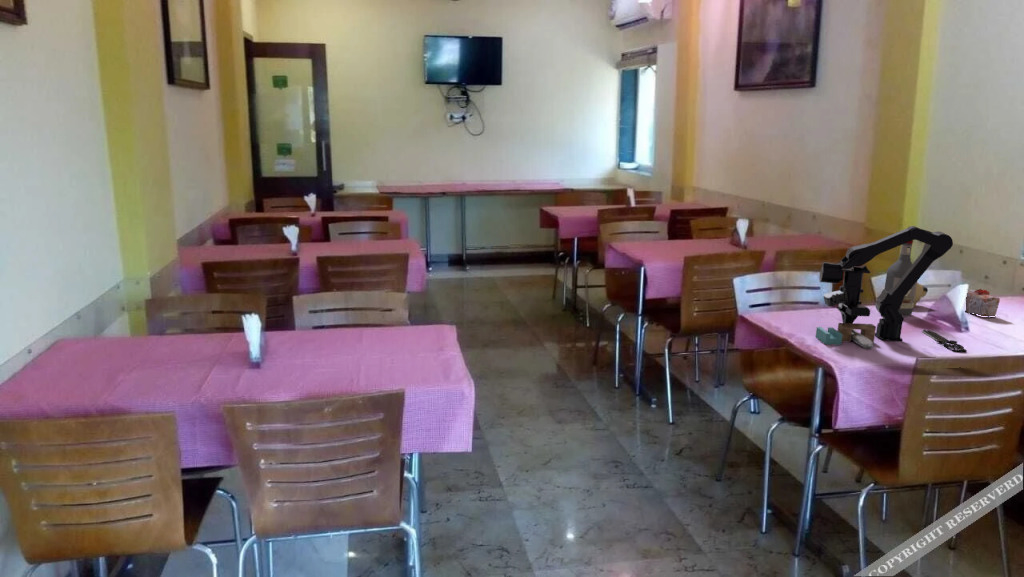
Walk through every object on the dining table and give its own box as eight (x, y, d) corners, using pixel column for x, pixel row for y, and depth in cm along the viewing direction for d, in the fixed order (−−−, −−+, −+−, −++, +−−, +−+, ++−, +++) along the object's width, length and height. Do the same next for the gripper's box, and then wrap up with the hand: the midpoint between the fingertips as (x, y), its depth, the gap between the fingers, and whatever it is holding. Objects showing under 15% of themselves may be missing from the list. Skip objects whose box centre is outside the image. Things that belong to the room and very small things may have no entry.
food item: (1000, 319, 288) (1004, 293, 286) (981, 319, 287) (986, 293, 284) (972, 309, 301) (977, 285, 299) (955, 309, 300) (959, 285, 297)
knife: (918, 331, 269) (919, 327, 269) (938, 332, 268) (939, 328, 268) (947, 352, 245) (947, 348, 244) (968, 354, 244) (969, 350, 243)
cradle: (831, 337, 255) (832, 327, 255) (841, 344, 248) (842, 334, 247) (815, 337, 255) (816, 326, 255) (825, 344, 248) (826, 333, 247)
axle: (851, 334, 259) (851, 325, 258) (873, 349, 244) (873, 339, 243) (841, 335, 259) (841, 326, 259) (863, 350, 244) (863, 340, 243)
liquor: (878, 309, 295) (889, 232, 289) (901, 309, 296) (913, 233, 289) (891, 315, 287) (903, 236, 280) (914, 316, 287) (927, 237, 280)
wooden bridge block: (869, 339, 255) (871, 323, 253) (873, 342, 252) (875, 326, 250) (836, 338, 254) (838, 322, 253) (840, 341, 252) (842, 325, 250)
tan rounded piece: (929, 307, 301) (934, 281, 299) (903, 308, 298) (907, 282, 296) (911, 301, 310) (915, 275, 308) (886, 302, 308) (890, 276, 305)
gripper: (817, 277, 265) (811, 321, 269) (839, 290, 247) (832, 336, 251) (849, 278, 265) (843, 322, 269) (874, 291, 247) (867, 338, 251)
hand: (845, 329), depth 260 cm, fingers closed
